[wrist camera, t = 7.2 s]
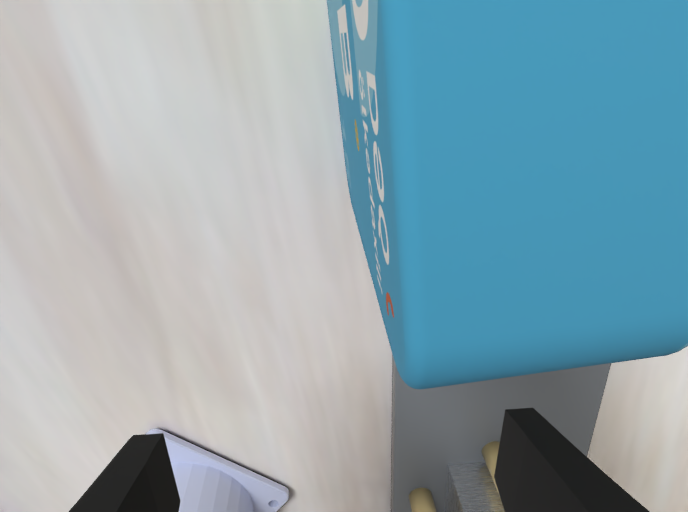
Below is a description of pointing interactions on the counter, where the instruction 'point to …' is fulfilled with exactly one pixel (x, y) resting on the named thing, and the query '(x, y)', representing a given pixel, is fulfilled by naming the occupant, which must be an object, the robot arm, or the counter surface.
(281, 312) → the counter surface
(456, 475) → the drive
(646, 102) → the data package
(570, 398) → the flat grey base plate
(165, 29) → the counter surface
